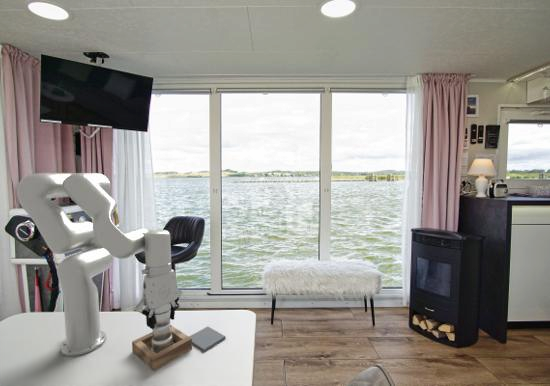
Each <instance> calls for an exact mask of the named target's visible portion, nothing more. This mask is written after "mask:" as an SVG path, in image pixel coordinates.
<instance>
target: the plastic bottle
mask: <svg viewBox="0 0 550 386" xmlns="http://www.w3.org/2000/svg"><path fill="white" fill-rule="evenodd" d="M170 313H171V303H168V304H165V305H163V306H160V307H158V308H155V309H154V312H153V315H152V316H154V325H155V328H154V329H151V330H152V341H151V350H153V351H154V352H155V353H156V354H157V353H158V352H160V351H162V350H164V349H166V348H168V347H169V346H171V345H173V344H174V342H173V337H172V334H171V328H170V325H171V319H170Z"/></svg>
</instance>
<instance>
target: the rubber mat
mask: <svg viewBox="0 0 550 386" xmlns="http://www.w3.org/2000/svg"><path fill="white" fill-rule="evenodd" d="M189 337H190V338H192V346H195V347H196V348H197V349H200V350H201V351H202V352H204V353H205V352H206V351H208V350H210V349H211V348H213V347H215V346H217V344H219V343H221V342H223V341H224V340H225V339H226V335H224V334H222V333H221V332H219V331H216V330H215V329H213V328H211V327H209V326H206V327H204V328H202V329H200V330H198V331H197V332H195V333H193V334H191V335H189Z"/></svg>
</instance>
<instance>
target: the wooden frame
mask: <svg viewBox="0 0 550 386" xmlns="http://www.w3.org/2000/svg"><path fill="white" fill-rule="evenodd" d="M170 328H171V334H172V337H173V345H171V346H169V347H168V348H166V349H164V350H162V351H160V352H158V353H155V352H154V351H153V350H152V347H151V341H152V332H149V333H147V334H145V335H142V336H140V337H139V338H137V339H135V340H132V341H131V347H132V348H131V349H132V353H133V354H134V355H135V356H136V357H137V358H138V359H140V360H141V361H142V362H143V363H144V364H145V365H146V366H147V367H148V368H149V369H151V371H153V372H155V371H156V370H159V369H160V368H162V367H164V366H165V365H168V364H169V363H171V362H172V361H174V360H175V359H177V358H179V357H181V356H182V355H185V353H187V352H189V351H190V350H193V344H192V338H190V337H189V336H190V335H189V336H188V335H187V334H185V332H182V331H181V330H179V329H177V328H176V327H175V326H173V325H171V324H170ZM150 347H151V348H150Z"/></svg>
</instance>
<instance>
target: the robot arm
mask: <svg viewBox="0 0 550 386" xmlns="http://www.w3.org/2000/svg"><path fill="white" fill-rule="evenodd" d="M111 188H112V187H111V181H110V179H109V178H108V177H107V176H106V175H104V174H102V173H99V172H40V173H39V172H38V173H32V174H29V175H26V176H25V177H23V178H21V179H20V181H19V182H18V186H17V188H16V189H17V190H16V191H17V192H16V194H17V198H18V199H17V200H18V202H19V204H20V206H21V207H22V209H23V210H24V211H25V213H26V214H27V215H28V216H29V217H30V219H31V220H32V221H33V223H34V225H35V226H36V228H37V230H38V232H39V233H40V235H41V237H42V238H43V240H44V243H45V244H46V245H47V247H48V248H49V249H50V251H51V252H52V253H54V254H57V255H63V254H68V253H71V252H74V251H77V250H81V251H80V252H77V253H73V254H71V255H68V256H67V257H66V258H64V259H63V260H61V262H59V264H58V266H57V269H56V273H57V278H58V281H59V284H60V286H61V293H62V299H63V300H62V301H63V313H64V327H65V328H64V329H65V340H66V341H65V342H64V343H62V344H61V347H60V352H61V353H60V354H62V355H63V356H67V357H75V356H81V355H84V354H88V353H90V352H93V351H94V350H96V349H98V348H99V347H100V346H102V345H103V344H104V343H105V342H106V339H107V334H106V332H104V331H102V330H101V319H100V315H101V314H100V300H99V291H98V287H97V285H96V284H95V283H94V280H92V279H93V278H94V277H95V276H98V275H100V274H101V273H104V272H106V271H107V270H109V269H110V268H111V267H112V265H113V263H114V258H117V259H121V260H123V259H128V258H131V257H133V256H136V255H137V254H139V253H142V252H144V253H145V255H144V256H145V257H144V258H145V267H144V269H142V270H141V274H142V275H144V277H143V283H142V292H141V294H142V297H141V299H140V301H139V302H138V304H137V305H136V306H135V308H134V310H135V311H136V312H138V313H139V314H142V315H144V316H145V318H146V319H145V321H146V322H145V323H146V327H148V328H149V329H151V330H153V329H154V328H155V325H154V316H152V315H153V312H154V309H155V308H158V307H160V306H163V305H165V304H168V303H171V313H170V321H171V320H172V321H174V320H175V315H176V310H175V308H176V307H177V303H178V302H179V300H180V298H181V296H182V294H183V293H184V292H183V291H182V290H180V289H179V288H178V281H177V276H176V273H175V270H174V269H172V248H171V247H172V246H171V233H170V231H168V230H167V229H156V230H154V229H149V228H145V227H143V228H142V227H140V228H135V229H133V230H129V231H126V232H122V231H121V230H120V229H119V228H118V227H117V226H116V225H115V224H114V222H113V221H112V218H111V216H112V214H114V212H115V211H116V210H117V207H118V204H117V203H118V202H116V200H115V199H114V198H112V196H110V195H109V192H110V191H111ZM59 198H60V199H61V198H70V199H71V200H72V201H73V202H74V203H75V204H76V205H77V206H78V207H79V208H80V209H81V210H82V211H83V213H85V214H86V215H87V216H88V217H89V218H90V219H91V220H92V221H88V220H80V221H75V222H73V221H71V219H70V218H69V216H68V215H67V212H66V211H65V210H64V209H63V208H62V207H61V206H60V205H59V204H57V202H54V201H53V200H52V199H59ZM144 306H146V307H145V309H144V308H143V307H144Z"/></svg>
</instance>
